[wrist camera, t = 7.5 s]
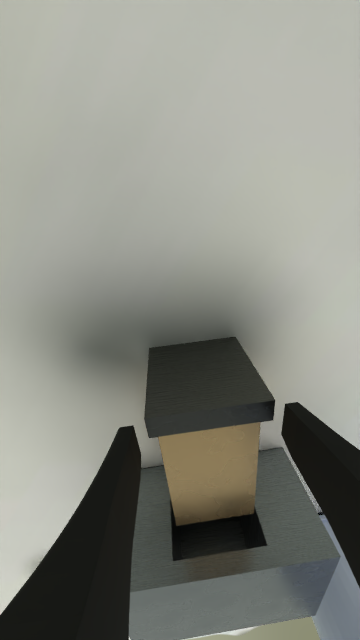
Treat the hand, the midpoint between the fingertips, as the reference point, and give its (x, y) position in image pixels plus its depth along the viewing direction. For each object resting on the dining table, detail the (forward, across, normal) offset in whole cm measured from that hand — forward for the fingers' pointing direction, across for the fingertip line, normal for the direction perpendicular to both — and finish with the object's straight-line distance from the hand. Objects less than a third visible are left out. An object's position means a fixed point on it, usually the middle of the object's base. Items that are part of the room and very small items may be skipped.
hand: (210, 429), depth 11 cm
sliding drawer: (+5, 0, +3) cm, 6 cm away
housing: (+5, 0, +15) cm, 16 cm away
